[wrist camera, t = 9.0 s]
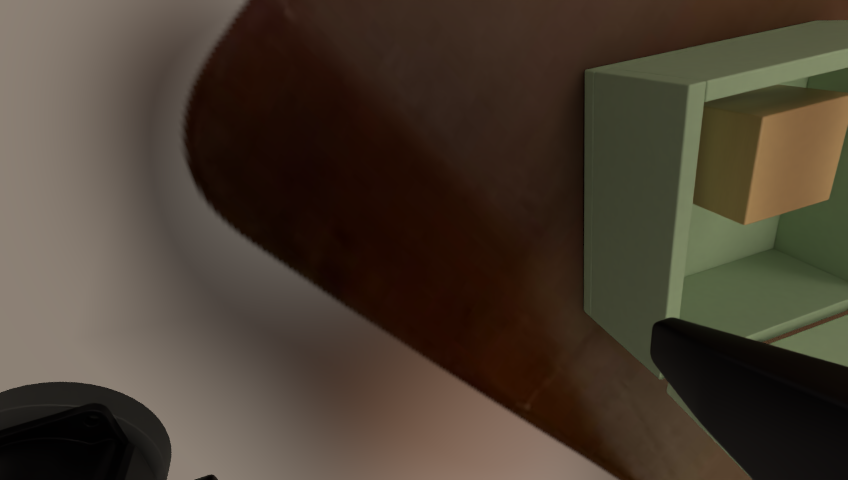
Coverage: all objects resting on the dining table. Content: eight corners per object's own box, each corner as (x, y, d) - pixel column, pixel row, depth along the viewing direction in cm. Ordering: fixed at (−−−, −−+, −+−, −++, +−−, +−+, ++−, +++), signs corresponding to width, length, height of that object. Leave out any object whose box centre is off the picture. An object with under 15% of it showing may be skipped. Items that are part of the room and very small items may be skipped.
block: (664, 192, 23) (744, 226, 19) (672, 100, 21) (763, 117, 17) (738, 171, 24) (829, 200, 20) (753, 81, 22) (857, 93, 18)
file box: (583, 69, 20) (689, 85, 15) (816, 20, 22) (972, 19, 17) (583, 311, 26) (659, 380, 21) (769, 250, 28) (877, 299, 23)
